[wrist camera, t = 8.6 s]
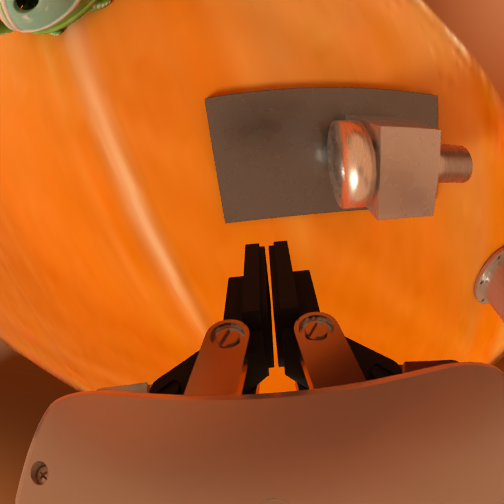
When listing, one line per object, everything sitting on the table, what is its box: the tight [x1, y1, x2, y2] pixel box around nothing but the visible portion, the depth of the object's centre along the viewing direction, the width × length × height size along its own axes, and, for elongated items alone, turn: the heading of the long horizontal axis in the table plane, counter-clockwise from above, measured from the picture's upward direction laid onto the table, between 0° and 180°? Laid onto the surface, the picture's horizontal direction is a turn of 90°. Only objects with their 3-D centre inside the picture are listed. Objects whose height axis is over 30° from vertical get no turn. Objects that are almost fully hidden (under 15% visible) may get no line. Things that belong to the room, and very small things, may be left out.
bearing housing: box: [205, 88, 441, 223], centre depth 25 cm, size 26×14×10 cm, turn 97°
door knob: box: [327, 120, 472, 209], centre depth 24 cm, size 14×8×8 cm, turn 97°
